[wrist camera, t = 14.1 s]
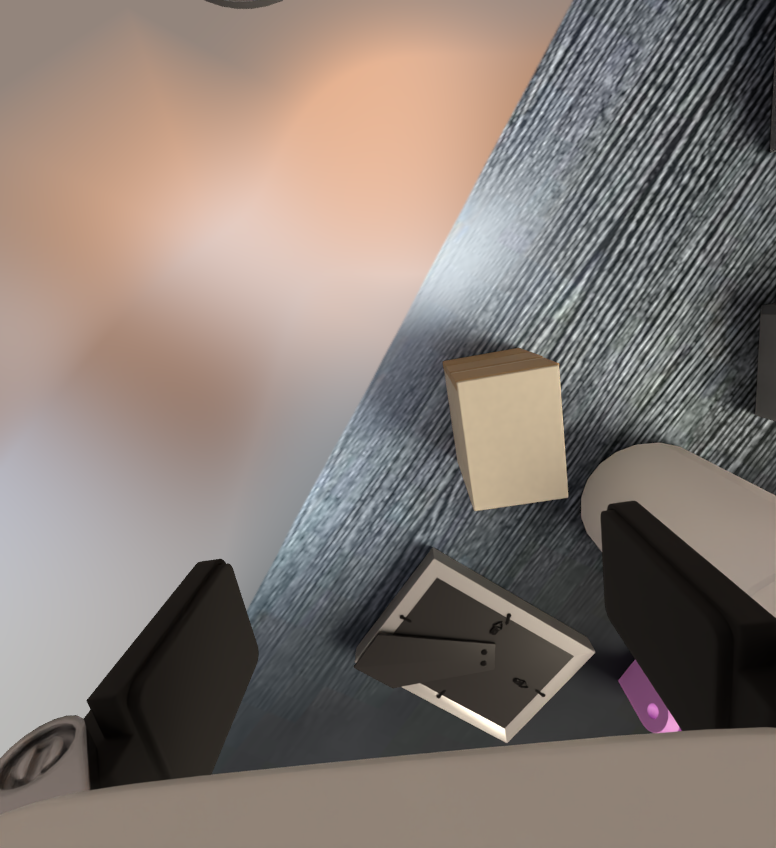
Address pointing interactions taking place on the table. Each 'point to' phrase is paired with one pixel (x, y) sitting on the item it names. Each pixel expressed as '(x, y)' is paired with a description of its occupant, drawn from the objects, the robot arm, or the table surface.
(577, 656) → the picture frame
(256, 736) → the table surface
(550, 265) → the table surface
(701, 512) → the can
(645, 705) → the bracket
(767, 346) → the grey book
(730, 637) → the robot arm
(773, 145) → the grey book
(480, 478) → the cream book
